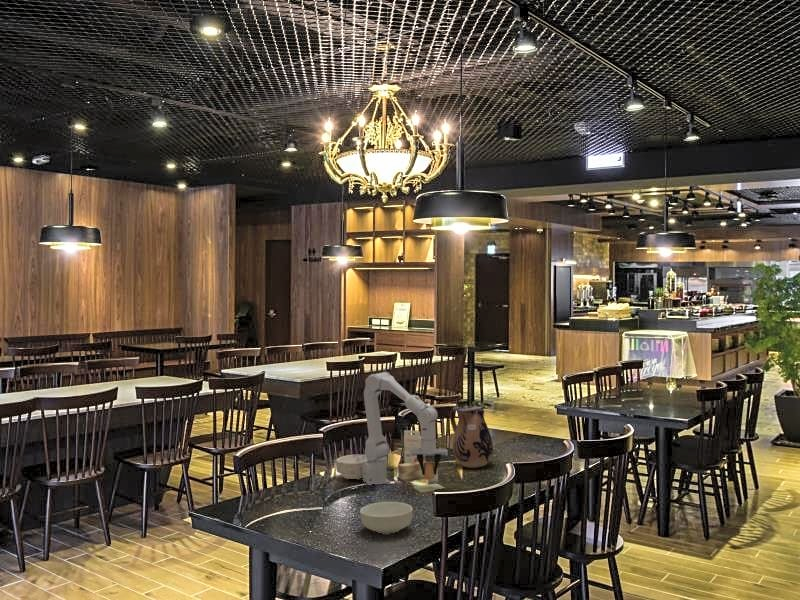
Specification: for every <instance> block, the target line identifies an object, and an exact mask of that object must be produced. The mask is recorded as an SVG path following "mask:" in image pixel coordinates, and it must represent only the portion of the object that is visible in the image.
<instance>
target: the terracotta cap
mask: <svg viewBox="0 0 800 600" xmlns="http://www.w3.org/2000/svg"><path fill="white" fill-rule="evenodd" d="M434 467H435V461H426V462H424V480H427V481H428V480H431V479H435V475H434Z"/></svg>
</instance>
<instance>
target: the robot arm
mask: <svg viewBox="0 0 800 600" xmlns="http://www.w3.org/2000/svg"><path fill="white" fill-rule="evenodd" d="M364 382H365V387H364V390H363V399H364V406H365V407H364V408H365V416H366V423H367V433H368V437H367V439H366V441H365V448H364V455H365V456H366V458H367V459H368V461H364V462H363V465H362V473H363V479H362V480H363V481H364V482H363V481H362V482H363V483H365V482H366V483H367V484H368V486H371V485H370V484H375V485H381V484H380V483H382V484H389V483H388V482H390V483H391V481H390V479H388V476H387V471H388V469H387V458H388V455H389V454H390V446H389V444H388V442H387V438H386V436H384V435H383V429H382V421H381V414H380V413H381V412H380V406H379V395H380V394H381V393H382V392H383V391H390V392H391V393H393V394H394V395H395V396H397V397H398V398H399V399H400V400H402V401H403V402H404V406H405V407H406V408H407V409H408V410H409V411H411V413H413V414H414V415H415V416H416V418H417V420H418V422H419V426H420V436H421V449H419V450H410V456H417V460H418V462H419V464H420V466H421V470H422V475H424V465H423V456H434V467H435V468H434V475H436V472H437V467H438V466H439V465H440V461H441V459H442V456H448V453H449V452H448V450H449V449H446V448H445V449H443V448H442V449H441V448H437V438H436V437H437V433H436V420H437V419H438V417H439V414H438V411H437V409H436V407H434V406H430V405H428V404H427V403H425V402H424V401H423V400H422V399H420V396H419V395H418V394H417V395H415V394H410V393H409V392H408V390H406V389H405V388H404V387H403V386H402V385H401V384H400V383H398V381H396V380H395V377H394V376H393V375H391V374H390V373H389V372H388V371H383V372H379V373H372V374H370V375H368V376H367V378H366V379H365V381H364ZM438 468H439V467H438ZM366 483H365V484H366ZM367 484H366V485H367Z"/></svg>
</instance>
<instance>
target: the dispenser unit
mask: <svg viewBox="0 0 800 600" xmlns="http://www.w3.org/2000/svg"><path fill="white" fill-rule="evenodd" d="M424 462H427V460H426V461H423V465H424ZM397 466H398V467H397V468H398V471H397V472H398V476H397V477H396V479H397V480H398V479H399V480H398V481H400V482H401V481H403V482H409V481H417V480H423V479H424V475H422V470H421V466H420V464H419V462H412V463H405V462H404V463H398V465H397ZM424 480H425V479H424Z"/></svg>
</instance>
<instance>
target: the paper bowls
mask: <svg viewBox="0 0 800 600" xmlns="http://www.w3.org/2000/svg"><path fill="white" fill-rule="evenodd" d="M364 461H368V459H367V458H366V456H365V454H358V453H357V454H349V455H343V456H340V457H338V458H336V460H335V464H336V465H335V466H336V468H335V469H336V472H337V473H338V474H341V477H342V478H343V477H344V478H343V479H345V478H346V479H345V480H348V479H357V480H361V479H360V478H363V473H362V465H363V462H364Z"/></svg>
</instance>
